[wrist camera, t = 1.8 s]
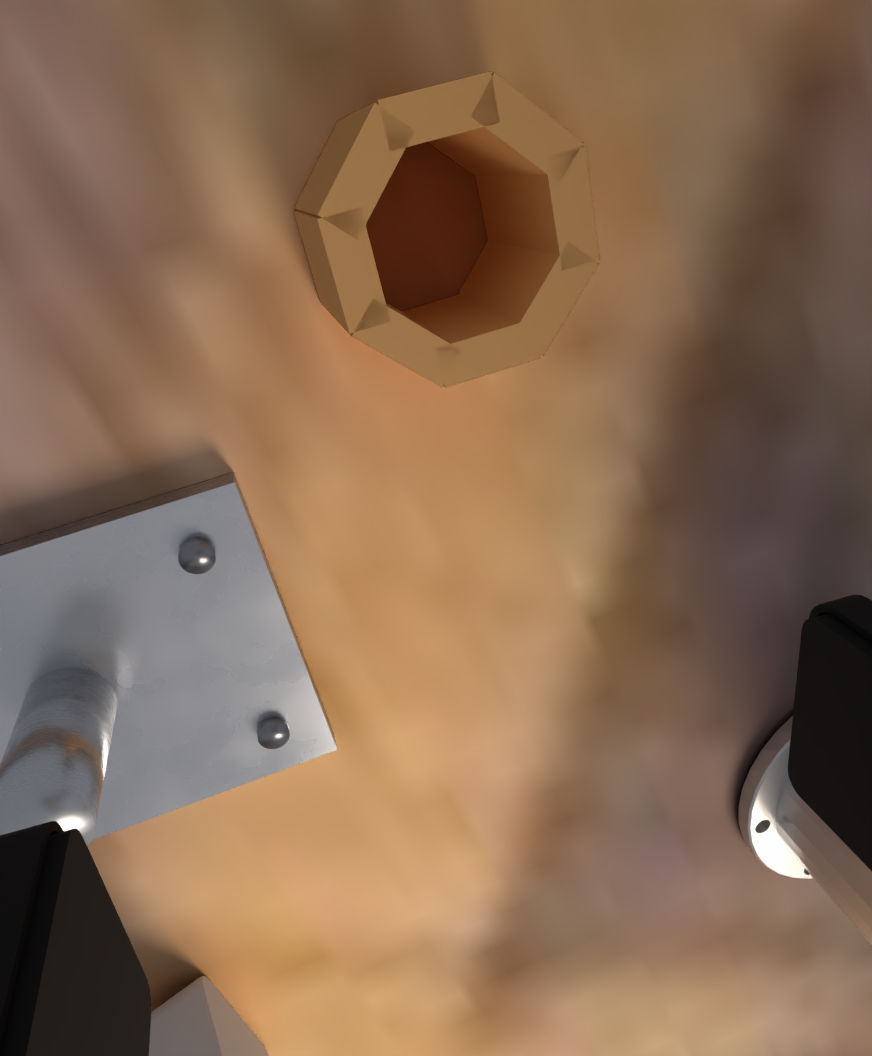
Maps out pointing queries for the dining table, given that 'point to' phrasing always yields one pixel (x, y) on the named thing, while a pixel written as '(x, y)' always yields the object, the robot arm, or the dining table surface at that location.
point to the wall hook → (201, 1025)
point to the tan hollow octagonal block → (509, 215)
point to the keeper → (146, 665)
